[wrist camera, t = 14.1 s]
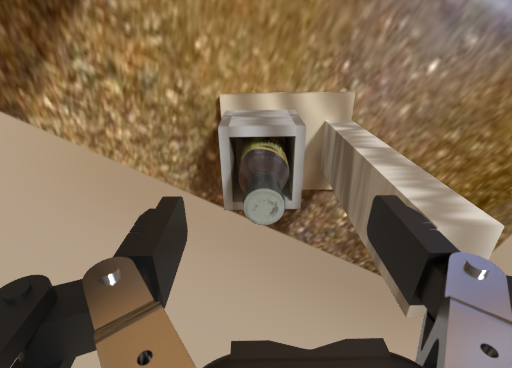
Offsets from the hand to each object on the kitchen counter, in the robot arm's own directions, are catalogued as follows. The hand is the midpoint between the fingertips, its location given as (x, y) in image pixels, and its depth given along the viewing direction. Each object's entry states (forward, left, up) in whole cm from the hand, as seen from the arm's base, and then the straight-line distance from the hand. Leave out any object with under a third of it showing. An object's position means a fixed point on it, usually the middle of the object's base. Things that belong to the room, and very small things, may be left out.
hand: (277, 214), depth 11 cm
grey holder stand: (+4, -7, -33) cm, 34 cm away
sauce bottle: (0, -7, -32) cm, 33 cm away
